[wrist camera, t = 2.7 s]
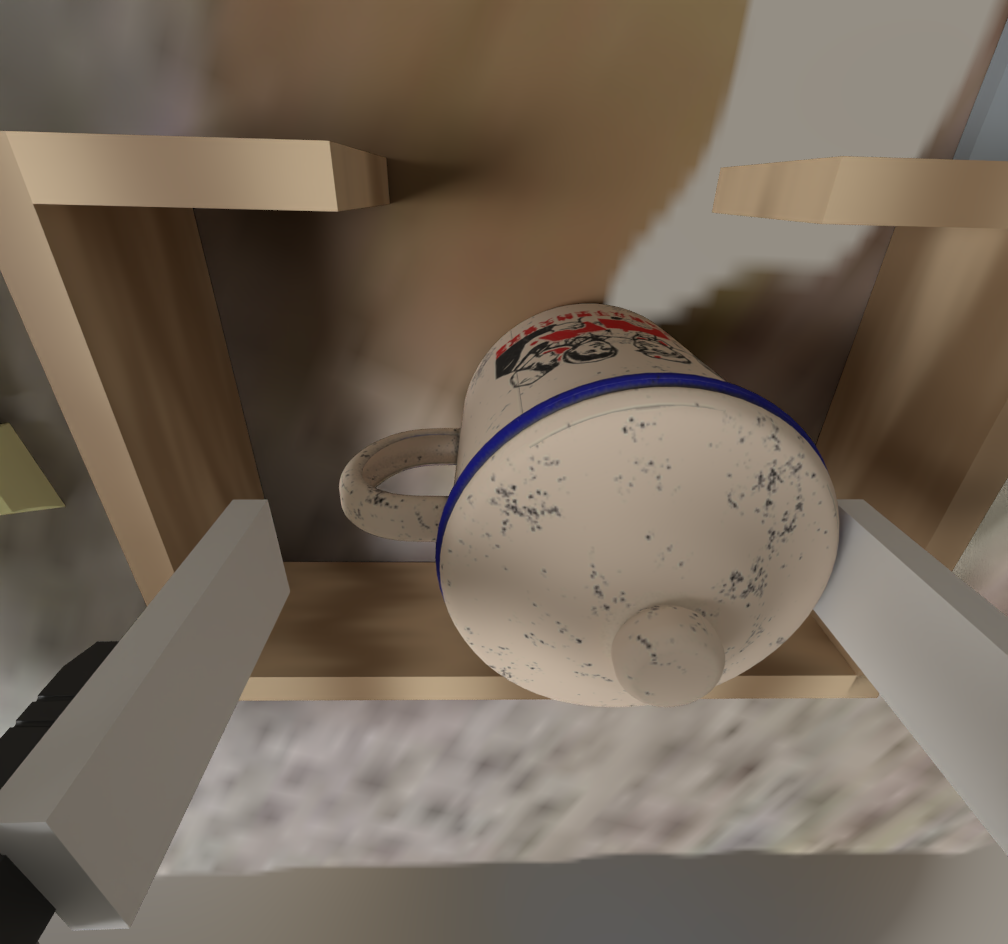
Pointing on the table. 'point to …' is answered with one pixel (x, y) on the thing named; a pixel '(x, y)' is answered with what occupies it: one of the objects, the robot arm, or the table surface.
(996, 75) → the mat
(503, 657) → the teacup with lid
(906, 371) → the open enclosure
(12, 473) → the slatted curved stool
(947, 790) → the table surface
